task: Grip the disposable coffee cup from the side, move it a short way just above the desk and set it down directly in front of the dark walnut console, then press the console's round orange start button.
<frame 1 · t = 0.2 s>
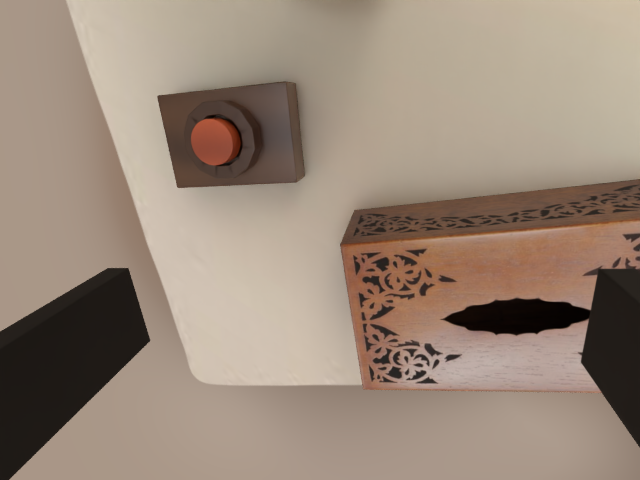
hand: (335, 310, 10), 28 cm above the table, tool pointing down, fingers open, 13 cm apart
start button: (216, 141, 33), point 5 cm above the table, slide at 0.1 cm
tissue box cover: (487, 263, 38), on the table
console: (240, 136, 38), on the table
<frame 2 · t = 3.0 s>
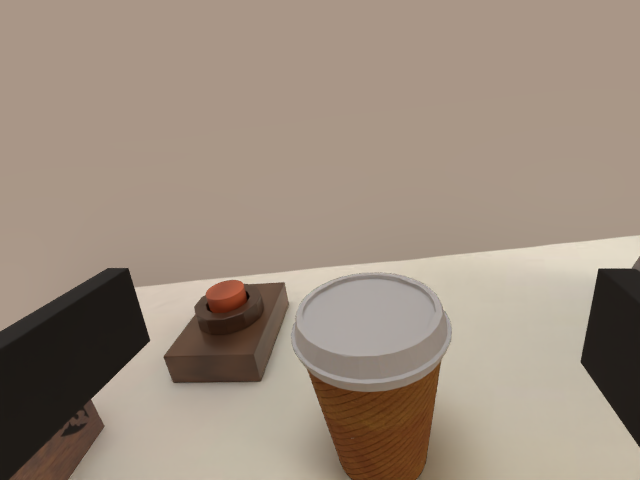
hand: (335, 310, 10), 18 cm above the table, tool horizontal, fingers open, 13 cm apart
start button: (226, 296, 39), point 5 cm above the table, slide at 0.1 cm
disposable coffee cup: (381, 449, 26), on the table
console: (238, 338, 41), on the table
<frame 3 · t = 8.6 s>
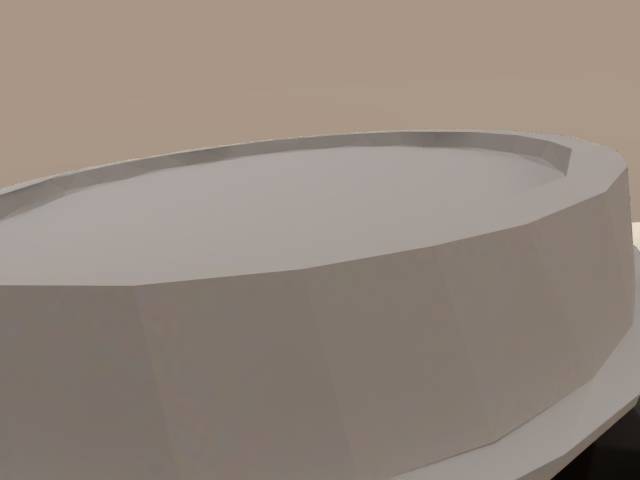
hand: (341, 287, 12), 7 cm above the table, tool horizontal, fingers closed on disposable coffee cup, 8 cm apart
when the fingers open (7 cm above the table, at t = 15.7 s): disposable coffee cup stays where it is, on the table.
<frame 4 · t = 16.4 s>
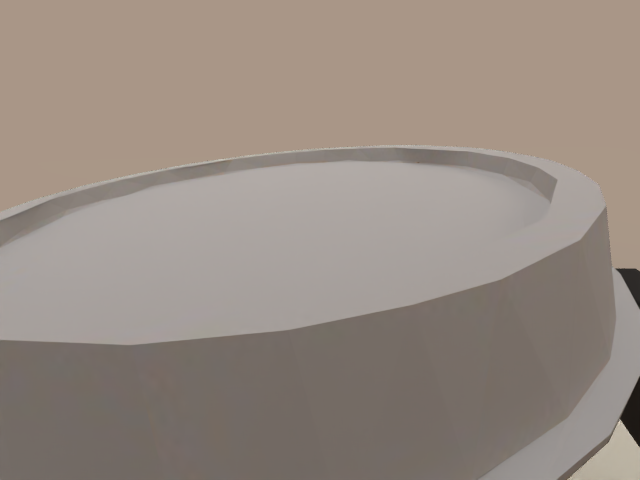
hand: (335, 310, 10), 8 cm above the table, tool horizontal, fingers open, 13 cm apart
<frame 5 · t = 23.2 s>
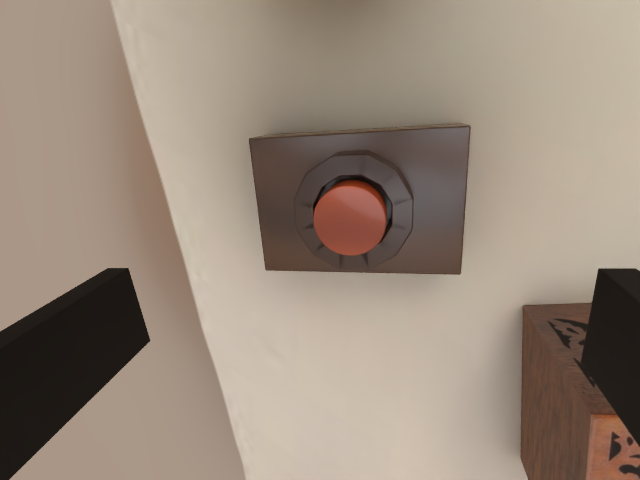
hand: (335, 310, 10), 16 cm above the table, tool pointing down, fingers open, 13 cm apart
start button: (350, 217, 21), point 5 cm above the table, slide at 0.1 cm
console: (360, 195, 26), on the table
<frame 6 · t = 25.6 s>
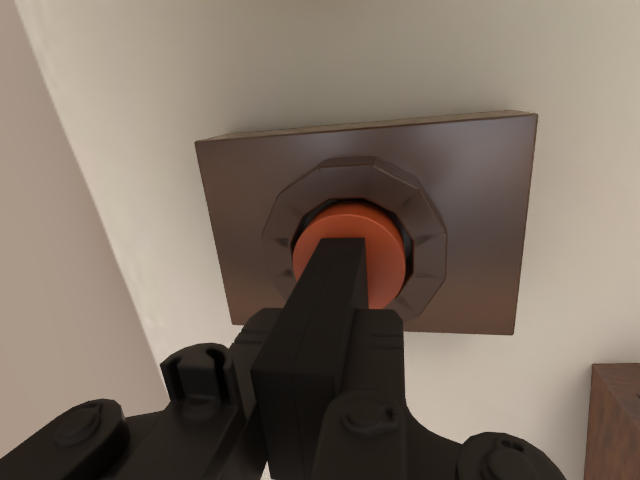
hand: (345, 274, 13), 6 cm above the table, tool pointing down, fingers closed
start button: (350, 258, 14), point 5 cm above the table, slide at -0.3 cm, touching gripper
console: (362, 216, 18), on the table
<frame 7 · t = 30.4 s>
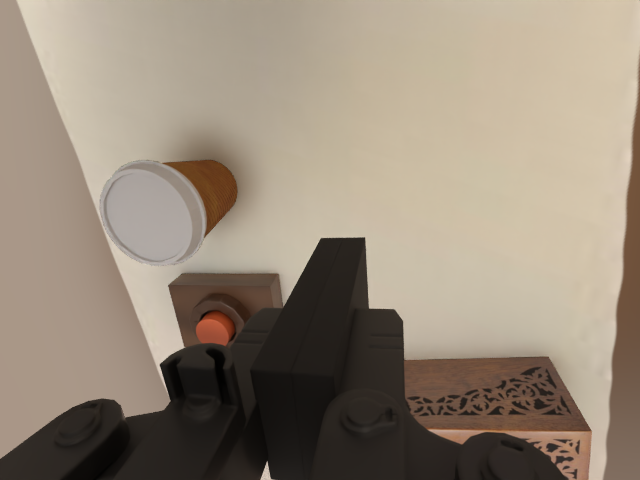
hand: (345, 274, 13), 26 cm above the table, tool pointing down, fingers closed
start button: (215, 329, 42), point 5 cm above the table, slide at 0.1 cm
tissue box cover: (434, 405, 47), on the table
disposable coffee cup: (212, 187, 42), on the table
console: (235, 305, 47), on the table
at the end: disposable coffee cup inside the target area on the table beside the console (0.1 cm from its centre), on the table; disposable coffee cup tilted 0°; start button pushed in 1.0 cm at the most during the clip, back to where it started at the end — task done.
